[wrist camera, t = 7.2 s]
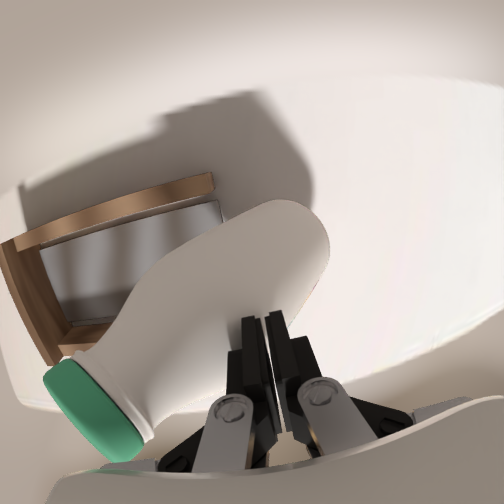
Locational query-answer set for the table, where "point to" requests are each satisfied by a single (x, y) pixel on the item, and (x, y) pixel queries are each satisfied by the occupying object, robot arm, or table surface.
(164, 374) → the milk bottle
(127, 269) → the rest
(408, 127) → the table surface
